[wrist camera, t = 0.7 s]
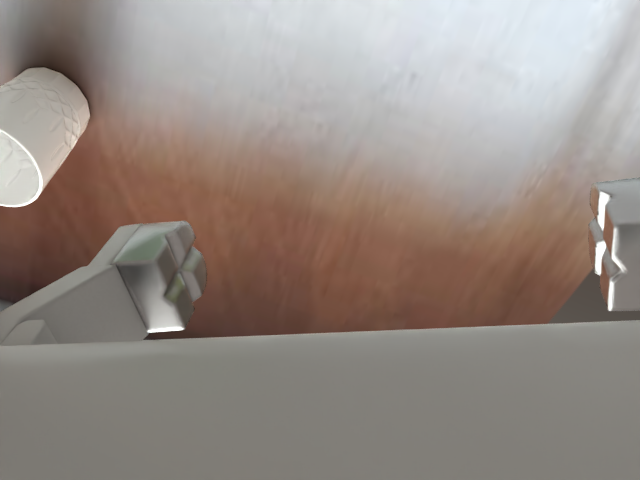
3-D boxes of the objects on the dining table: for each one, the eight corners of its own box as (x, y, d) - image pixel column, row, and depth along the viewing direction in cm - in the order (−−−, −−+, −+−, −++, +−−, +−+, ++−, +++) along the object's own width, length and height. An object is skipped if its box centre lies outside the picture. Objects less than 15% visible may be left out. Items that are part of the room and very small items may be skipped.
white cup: (17, 41, 49) (-57, 99, 41) (107, 91, 51) (52, 155, 43) (1, 112, 54) (-68, 175, 46) (84, 155, 56) (30, 222, 48)
